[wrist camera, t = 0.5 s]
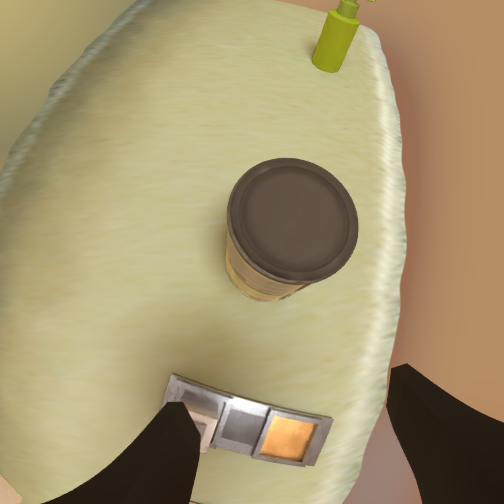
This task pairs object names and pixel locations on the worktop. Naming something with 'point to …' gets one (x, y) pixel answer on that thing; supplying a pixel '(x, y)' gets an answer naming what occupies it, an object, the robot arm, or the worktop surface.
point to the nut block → (202, 417)
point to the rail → (258, 425)
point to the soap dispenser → (336, 36)
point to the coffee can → (287, 228)
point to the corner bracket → (8, 493)
